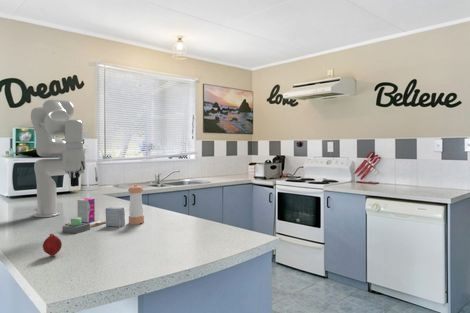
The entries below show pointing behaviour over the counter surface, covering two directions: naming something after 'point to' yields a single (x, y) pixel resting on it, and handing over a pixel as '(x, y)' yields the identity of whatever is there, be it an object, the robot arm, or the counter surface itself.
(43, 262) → the counter surface
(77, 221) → the button
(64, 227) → the button box
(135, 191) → the pepper shaker
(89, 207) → the supplement box
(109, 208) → the medicine box
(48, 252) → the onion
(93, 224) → the wooden picture frame
